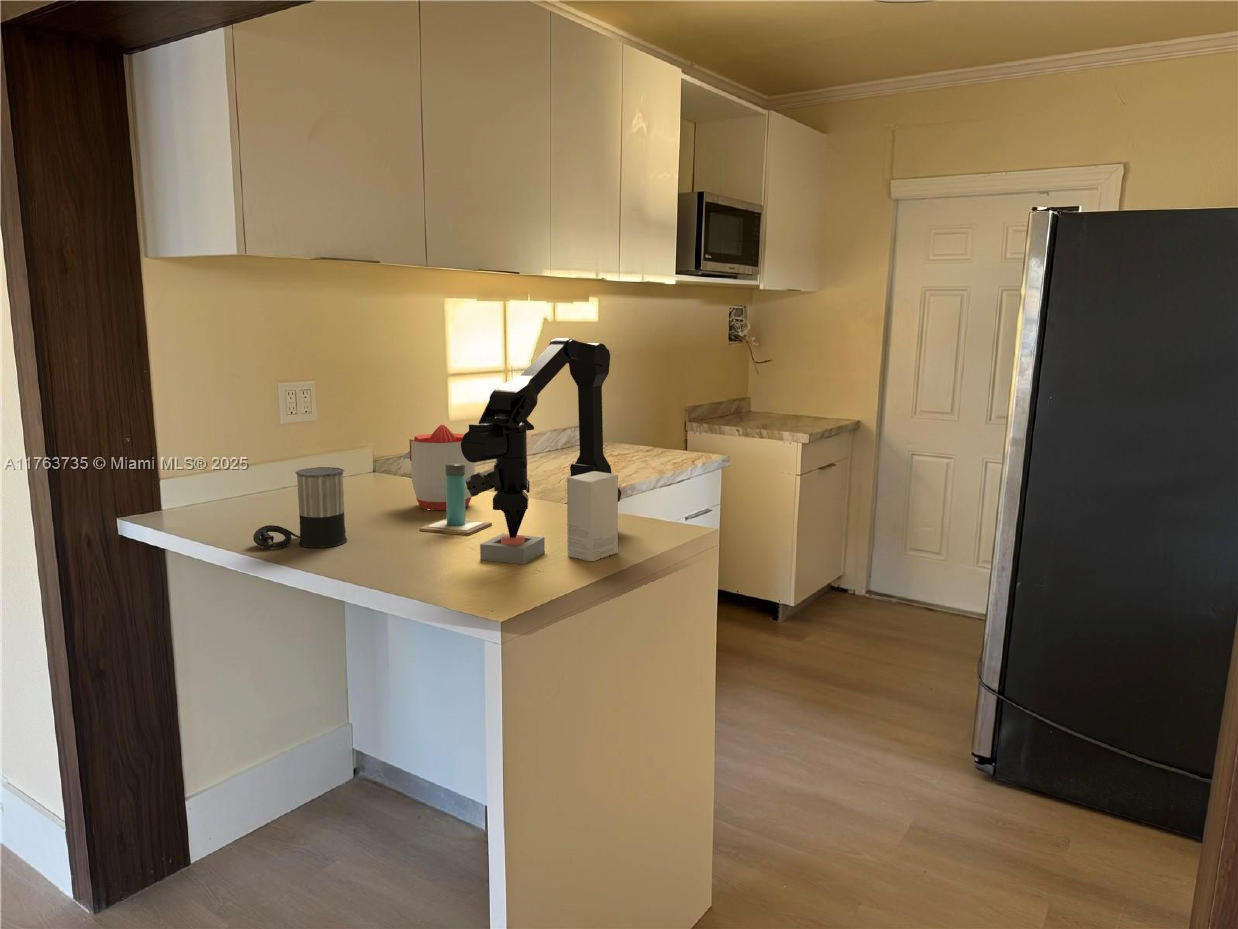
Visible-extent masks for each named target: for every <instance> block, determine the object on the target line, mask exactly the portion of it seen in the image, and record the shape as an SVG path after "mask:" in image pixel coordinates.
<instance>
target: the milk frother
mask: <svg viewBox="0 0 1238 929" xmlns="http://www.w3.org/2000/svg"><path fill="white" fill-rule="evenodd" d="M344 472H345V469H343V468H339V467H334V466H332V467H331V466H318V467H308V468H302V469H299V470H298V469H297V470H295V475H296V477H297V478H296V479H297V480H296V481H297V496H298V498H297V499H298V511H299V512H298V513H299V514H298V516H299V535H297V534H296V533H295V532H292V531H291V530H289V529H287V528H284V527H282V526H279V525H274V524H273V525H271V524H270V525H269V524H268V525H263V526H262V527H259V528H258V529H257V530H255V532H254V534H253V537H252V538H253V542H254V543H255V545H257V546H259V547H262V548H263V549H265V548H266V549H267V548H268V549H278V548H282V547H286V546H288V545H290V543H291V542H292V538H293V537H295V538H298V539H299V541H298V544H299V546H301V547H305V548H312V549H313V548H317V549H322V548H332V547H338V546H340V545H343V544H345V543H347V541H348V538H347V535H346V531H347V530H346V524H345V523H346V522H345V521H346V520H345V500H344V499H345V498H344V494H345V493H344V491H345V490H344V474H343V473H344ZM270 533H278V534H280V535H283V537H284V539H283V540H280V541H276V542H275V541H274V539H275V538H274V537H275V536H274V535H271V534H270ZM292 536H293V537H292Z"/></svg>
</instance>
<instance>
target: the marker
mask: <svg viewBox="0 0 1238 929" xmlns="http://www.w3.org/2000/svg"><path fill="white" fill-rule="evenodd" d="M445 474H446V510H445V511H446V515H445V516H446V517H445V518H447V525H449V526H462V525H465V520H466V507H465V464H462V463H450V464H445Z"/></svg>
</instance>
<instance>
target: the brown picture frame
mask: <svg viewBox="0 0 1238 929" xmlns="http://www.w3.org/2000/svg"><path fill="white" fill-rule="evenodd" d="M492 525H493V522H490V521H479V520H478V521H477V520H470V519H469V520H467V519H465V525H462V526H449V525H447V517H445V518H441V519H439V520H436V521H433V522H431V523H428V524H425V525H423V526H421V527H419V528H418V530H419V531H420V532H429V533H430V532H431V533H437V534H438V533H440V534H450V535H457V536H458V535H459V536H467V537H468V536H471V535H473V534H476V533H478V532H480V531H482V530H485V529H487V528H489V527H492Z"/></svg>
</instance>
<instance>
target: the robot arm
mask: <svg viewBox="0 0 1238 929" xmlns="http://www.w3.org/2000/svg"><path fill="white" fill-rule="evenodd" d="M548 344H549V345H548V347H546V348H545V349H544V350H543V352H541V354H540V355H539V356H538V357H537V358H536V359H534V360H533V362H532V363H531V364H530V365H529V366H528V367H527V368H526V369H525V370H524V371H523V372H522V373H521V374H520V375H519V376H518V377H517V378H515V379H511V380H509V381H506V382H504V383H503V384H501V385H500V386H498V387H496V388H494V390H492V391H491V393H490V395H489V400H488V402H487V404H486V406H485V408H484V410H483V412H482V415H481V417H480V419H479V421H478V423H469V425H468V431H466V432H465V433H464V434H465V435H464V436H463V438H462V442H461V451H462V454H463V456H464V457H465V458H466V460H468V461H469V462H471V463H475V464H476V463H480V462H485V461H486V462H487V461H490V460H491V461H492V460H496V461H495V462H494V464H493V467H492V468H490V469H486V470H484V471H482V472H479V471H478V472H477V473H476V472H475V474H474V475H473V474H472V475H471V476H470V477H468V478H467V479H466V481H465V482H466V485H467V489H468V490H469V492H470V494H471V498H472V497H473V498H474V497H476V496H478V495H479V494H481V493H485V492H487V491H489V490H492V489H493V491H494V492H496V493H495V494H494V495H493V497H492V510H493V511H501V512H502V513H503V515H504V518H505V522H506V526H507V530H508V534H509V535H510V538H516V536H517V535H518V532H519V530H520V527H521V524H522V522H523V519H524V516H525V514H526V511H527V510H528V509H529V495H528V493H529V494H530V492H531V491H530V488H531V486H530V480H529V479H528V450H527V449H528V448H527V447H528V444H527V443H528V442H527V440H528V438H527V436H528V435H527V434H528V432H527V431H533V430H535V426H534V425H533V424H532V423H531V422H530V421H529V420H528V418H529V417H530V415H532V412H534V410H535V408H536V406H537V404H538V400H539V399H538V398H539V395H540V394H541V392H542V391H543V390H544V389H545V388H546V387H547V385H548V384H549V383H550V382H551V381H552V380H553V379H554V378H555V377H556V376H557V375H558V373H560V371H562V369H564V367H565V366H567V364H568V368H569V374H570V376H571V378H572V379H573V381H574V383H575V384H576V386H577V404H578V405H577V406H578V408H577V409H578V437H579V438H578V441H579V443H578V444H579V445H578V446H579V455H578V457H577V458H576V461H575V462H574V463H571V464H570V466H569V470H570V477H571V476H576V475H580V474H584V473H589V472H593V471H597V472H603V473H610V474H613V473H612V467H611V464H610V463H609V461H608V459H607V458H606V456H605V455H604V430H603V428H604V427H603V425H604V424H603V423H604V422H603V385H604V382H605V381H606V379H607V377H608V376H609V373H610V366H611V365H610V363H611V353H610V349H609V348H607V347H606V344H603V343H600V342H599V343H597V342H582V341H579V340H576V339H573V338H554V339H552V340H550V342H549V343H548ZM621 497H622V490H621V489H620V488H619V487H618V503H619V502H620V501H621Z"/></svg>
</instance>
